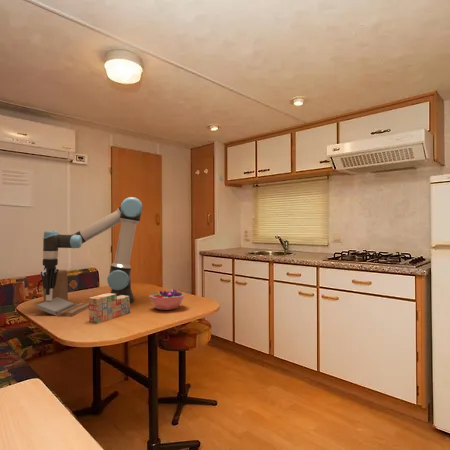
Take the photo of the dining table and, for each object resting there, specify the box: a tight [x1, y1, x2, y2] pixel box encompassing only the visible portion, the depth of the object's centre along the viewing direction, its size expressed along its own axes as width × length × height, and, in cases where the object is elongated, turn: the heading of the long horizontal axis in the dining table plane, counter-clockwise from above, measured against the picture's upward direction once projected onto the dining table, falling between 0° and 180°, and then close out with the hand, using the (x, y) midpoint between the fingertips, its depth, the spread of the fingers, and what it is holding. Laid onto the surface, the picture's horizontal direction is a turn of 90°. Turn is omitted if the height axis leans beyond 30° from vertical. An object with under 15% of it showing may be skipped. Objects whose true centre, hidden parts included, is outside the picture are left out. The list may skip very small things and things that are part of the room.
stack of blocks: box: [88, 292, 131, 324], centre depth 171 cm, size 21×6×12 cm, turn 150°
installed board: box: [57, 302, 89, 318], centre depth 182 cm, size 8×20×2 cm, turn 175°
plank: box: [35, 297, 76, 317], centre depth 183 cm, size 12×18×2 cm, turn 175°
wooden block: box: [43, 269, 69, 302], centre depth 203 cm, size 10×10×20 cm
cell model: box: [148, 288, 186, 311], centre depth 185 cm, size 17×20×11 cm
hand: (48, 300), depth 184 cm, fingers closed
